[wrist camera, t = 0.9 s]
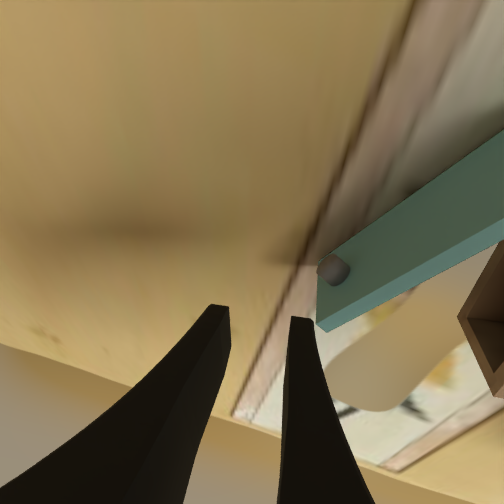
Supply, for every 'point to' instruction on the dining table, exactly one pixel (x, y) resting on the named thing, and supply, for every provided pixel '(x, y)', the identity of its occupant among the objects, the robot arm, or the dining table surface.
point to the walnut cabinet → (487, 321)
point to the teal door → (416, 238)
